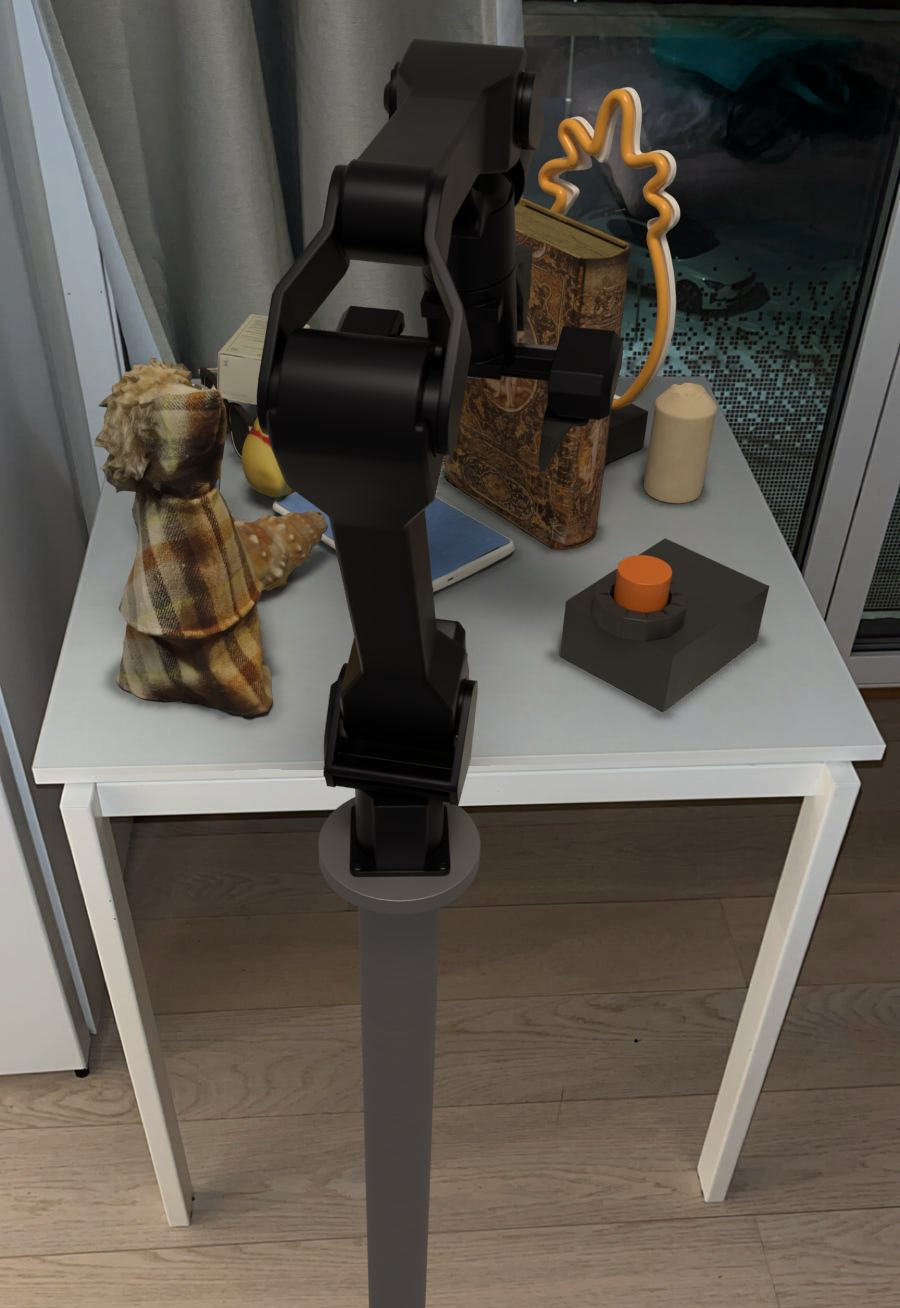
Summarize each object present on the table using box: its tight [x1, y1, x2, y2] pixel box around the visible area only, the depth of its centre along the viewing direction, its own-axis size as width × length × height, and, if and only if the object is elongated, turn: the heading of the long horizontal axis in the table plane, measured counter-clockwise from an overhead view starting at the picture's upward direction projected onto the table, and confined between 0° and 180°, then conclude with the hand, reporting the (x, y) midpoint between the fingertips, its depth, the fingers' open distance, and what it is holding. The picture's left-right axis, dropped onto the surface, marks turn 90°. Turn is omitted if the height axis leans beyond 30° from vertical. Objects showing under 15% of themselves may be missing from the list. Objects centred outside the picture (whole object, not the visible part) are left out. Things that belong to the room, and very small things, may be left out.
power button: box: [614, 554, 672, 612], centre depth 95 cm, size 4×4×2 cm
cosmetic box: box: [216, 313, 311, 405], centre depth 123 cm, size 6×4×12 cm
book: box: [443, 197, 632, 550], centre depth 110 cm, size 16×6×25 cm, turn 39°
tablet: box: [272, 492, 516, 593], centre depth 113 cm, size 19×13×1 cm, turn 43°
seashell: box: [232, 511, 328, 592], centre depth 106 cm, size 9×8×10 cm
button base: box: [559, 537, 770, 713], centre depth 100 cm, size 14×10×7 cm
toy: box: [241, 415, 295, 499], centre depth 114 cm, size 9×11×10 cm
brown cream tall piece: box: [93, 357, 273, 718], centre depth 91 cm, size 14×14×25 cm
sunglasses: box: [197, 366, 255, 459], centre depth 127 cm, size 14×16×5 cm
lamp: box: [537, 86, 681, 465], centre depth 117 cm, size 17×9×32 cm, turn 42°
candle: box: [643, 382, 718, 504], centre depth 118 cm, size 6×6×10 cm
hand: (479, 459), depth 91 cm, fingers open, 9 cm apart
